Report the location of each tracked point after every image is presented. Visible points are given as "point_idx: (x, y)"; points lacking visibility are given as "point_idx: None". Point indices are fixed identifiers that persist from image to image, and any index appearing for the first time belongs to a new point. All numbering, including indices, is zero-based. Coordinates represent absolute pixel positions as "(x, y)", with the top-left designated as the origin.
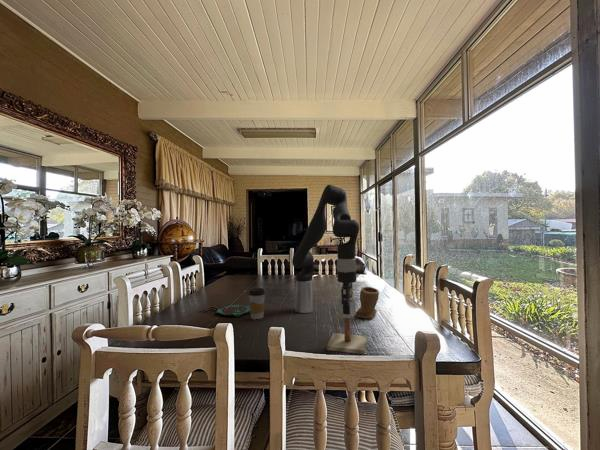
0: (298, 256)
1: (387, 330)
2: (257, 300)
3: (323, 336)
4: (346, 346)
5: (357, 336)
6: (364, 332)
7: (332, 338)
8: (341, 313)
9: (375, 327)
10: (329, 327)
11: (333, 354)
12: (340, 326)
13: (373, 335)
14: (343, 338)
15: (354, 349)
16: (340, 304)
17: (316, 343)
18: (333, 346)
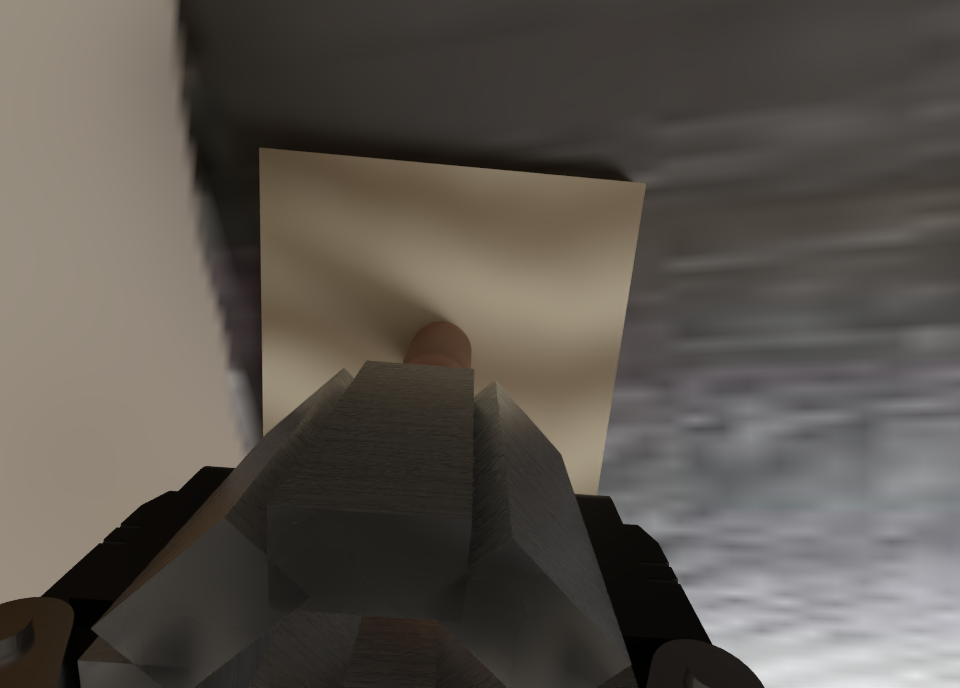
0: None
1: (832, 664)
2: None
3: (625, 63)
4: (302, 348)
5: (575, 439)
6: (773, 481)
7: (476, 188)
8: (297, 408)
9: (913, 576)
10: (926, 99)
11: (197, 229)
12: (957, 232)
13: (701, 554)
14: (499, 306)
15: (263, 420)
16: (239, 485)
17: (411, 9)
18: (267, 222)
